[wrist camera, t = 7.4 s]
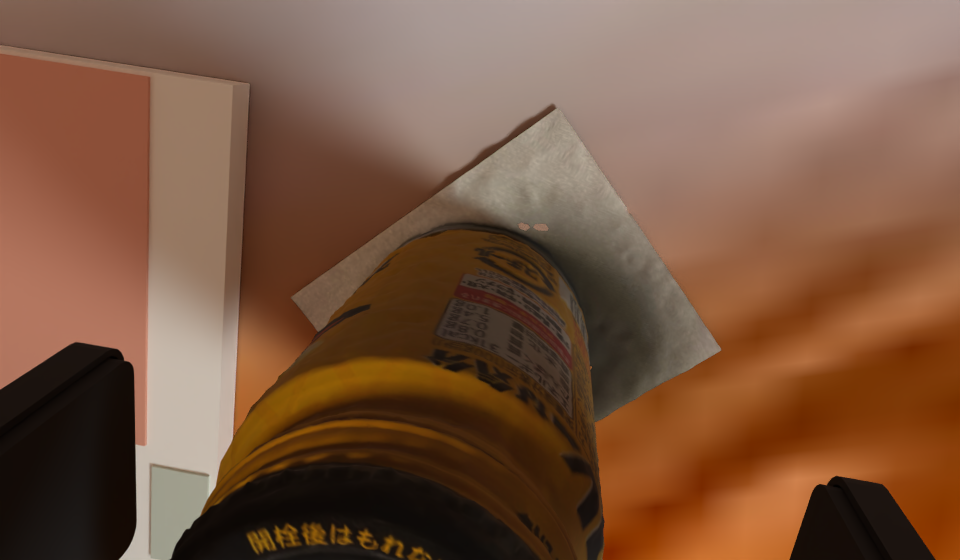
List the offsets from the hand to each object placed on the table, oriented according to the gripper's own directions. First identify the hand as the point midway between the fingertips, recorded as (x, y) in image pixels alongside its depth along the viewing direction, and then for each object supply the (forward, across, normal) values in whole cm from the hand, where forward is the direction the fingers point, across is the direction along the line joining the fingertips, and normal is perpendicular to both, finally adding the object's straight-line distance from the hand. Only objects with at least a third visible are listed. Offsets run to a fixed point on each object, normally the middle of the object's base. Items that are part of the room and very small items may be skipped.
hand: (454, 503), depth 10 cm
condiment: (+10, 0, +1) cm, 10 cm away
